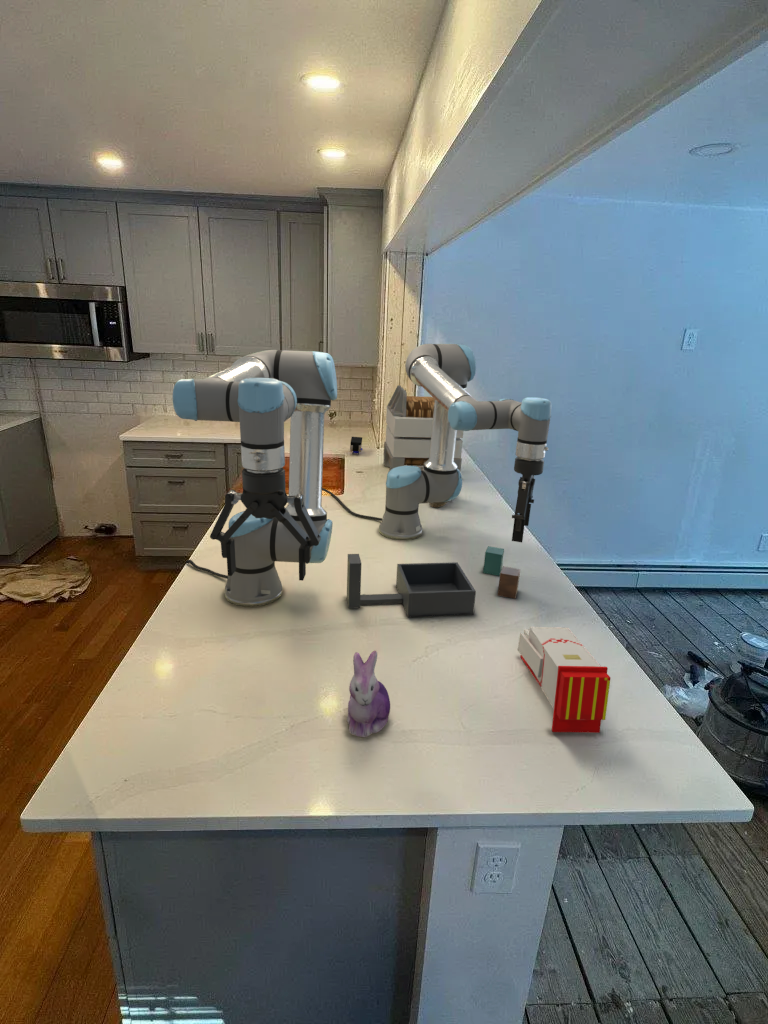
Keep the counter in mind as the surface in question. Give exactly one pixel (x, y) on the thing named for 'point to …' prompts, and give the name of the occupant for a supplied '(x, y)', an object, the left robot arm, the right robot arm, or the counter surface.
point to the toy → (566, 678)
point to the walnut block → (509, 582)
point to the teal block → (493, 560)
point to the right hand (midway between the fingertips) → (520, 532)
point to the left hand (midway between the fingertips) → (267, 575)
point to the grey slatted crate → (411, 431)
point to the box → (418, 589)
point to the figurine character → (356, 445)
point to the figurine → (367, 699)
